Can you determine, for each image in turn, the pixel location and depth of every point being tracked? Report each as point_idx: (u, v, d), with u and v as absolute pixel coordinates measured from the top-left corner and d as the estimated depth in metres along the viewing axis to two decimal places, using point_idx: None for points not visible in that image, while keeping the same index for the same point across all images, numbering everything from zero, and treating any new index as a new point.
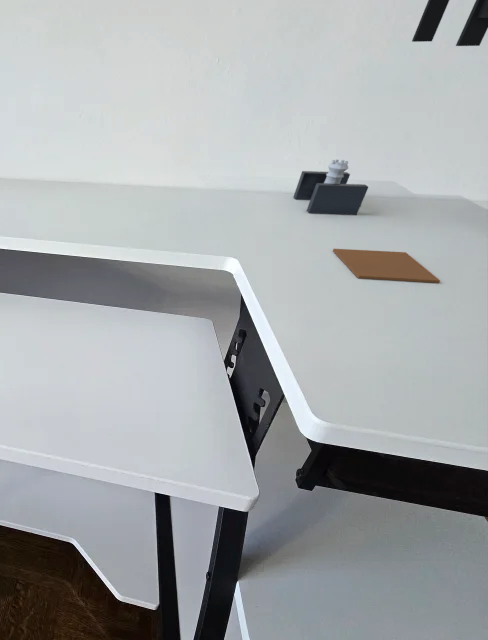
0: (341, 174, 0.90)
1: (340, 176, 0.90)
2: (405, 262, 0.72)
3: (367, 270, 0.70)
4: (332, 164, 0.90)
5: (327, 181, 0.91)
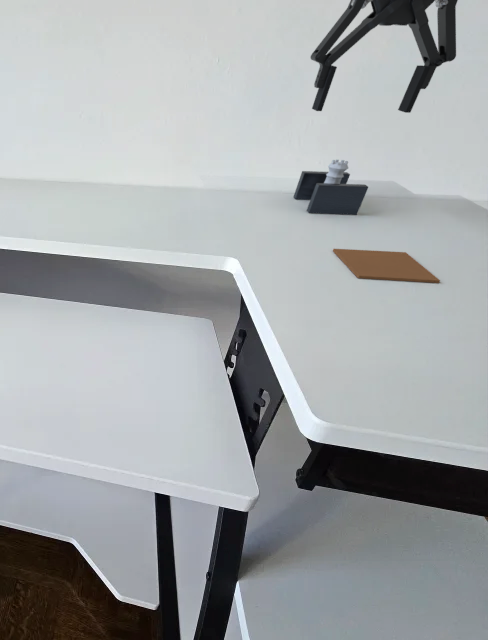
0: (341, 174, 0.90)
1: (340, 176, 0.90)
2: (405, 262, 0.72)
3: (367, 270, 0.70)
4: (332, 164, 0.90)
5: (327, 181, 0.91)
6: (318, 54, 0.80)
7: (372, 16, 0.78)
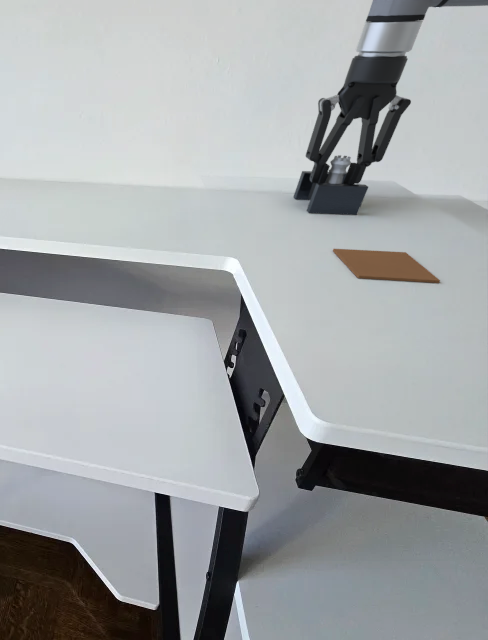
0: (344, 170, 0.89)
1: (343, 172, 0.89)
2: (405, 262, 0.72)
3: (367, 270, 0.70)
4: (334, 160, 0.89)
5: (330, 177, 0.91)
6: (311, 156, 0.89)
7: None
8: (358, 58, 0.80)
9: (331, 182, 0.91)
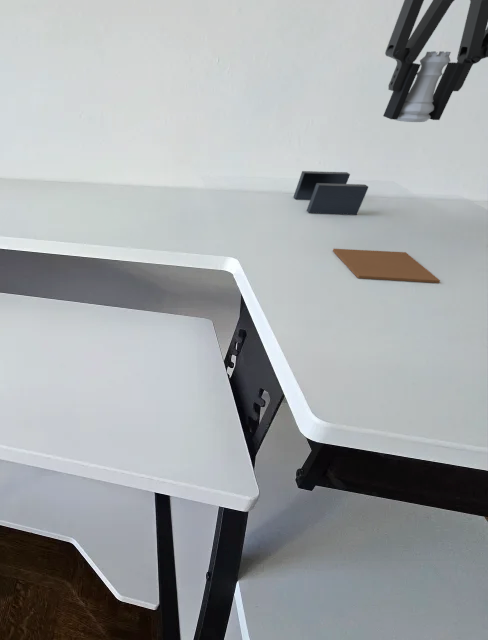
0: (439, 70, 0.65)
1: (438, 73, 0.65)
2: (405, 262, 0.72)
3: (367, 270, 0.70)
4: (427, 57, 0.65)
5: (418, 82, 0.66)
6: (395, 50, 0.64)
7: None
8: None
9: (420, 89, 0.66)
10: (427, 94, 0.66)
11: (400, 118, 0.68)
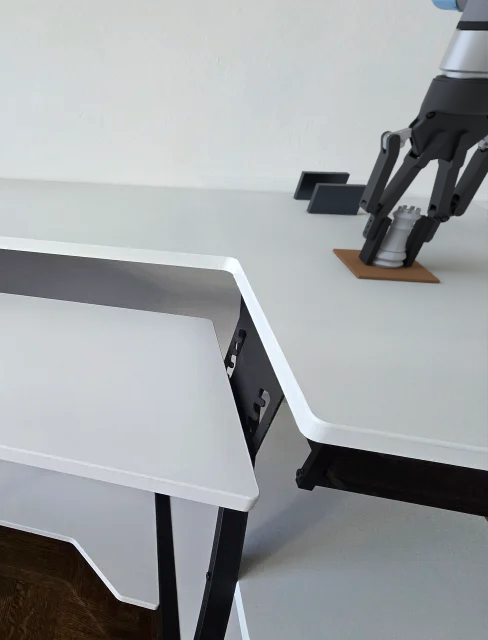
0: (411, 225, 0.67)
1: (409, 228, 0.67)
2: None
3: (367, 270, 0.70)
4: (399, 212, 0.67)
5: (391, 233, 0.69)
6: (368, 207, 0.67)
7: None
8: (443, 79, 0.58)
9: (392, 240, 0.69)
10: (400, 244, 0.68)
11: (374, 263, 0.71)
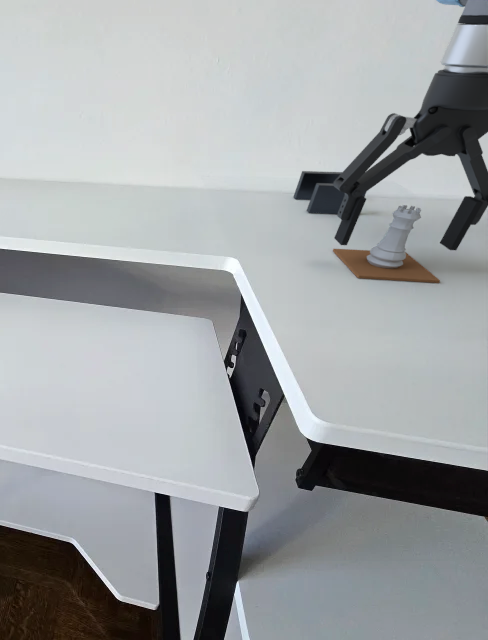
0: (411, 225, 0.67)
1: (409, 228, 0.67)
2: (405, 262, 0.72)
3: (367, 270, 0.70)
4: (399, 212, 0.67)
5: (391, 233, 0.69)
6: (343, 184, 0.66)
7: (410, 141, 0.63)
8: (445, 74, 0.57)
9: (392, 240, 0.69)
10: (399, 245, 0.68)
11: (374, 263, 0.71)
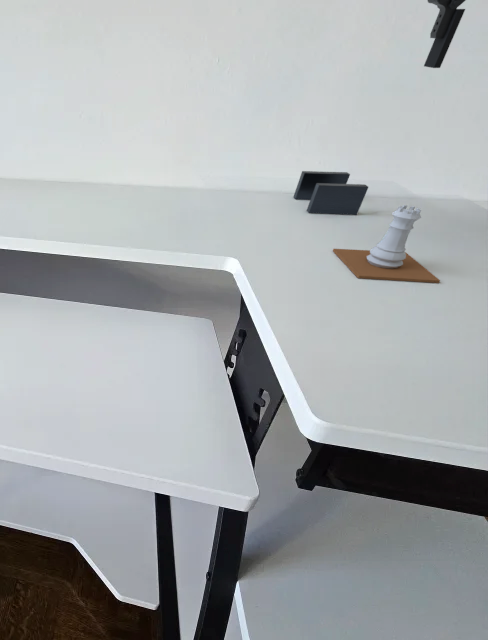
0: (411, 225, 0.67)
1: (409, 228, 0.67)
2: (405, 262, 0.72)
3: (367, 270, 0.70)
4: (399, 212, 0.67)
5: (391, 233, 0.69)
6: None
7: None
8: None
9: (392, 240, 0.69)
10: (399, 245, 0.68)
11: (374, 263, 0.71)
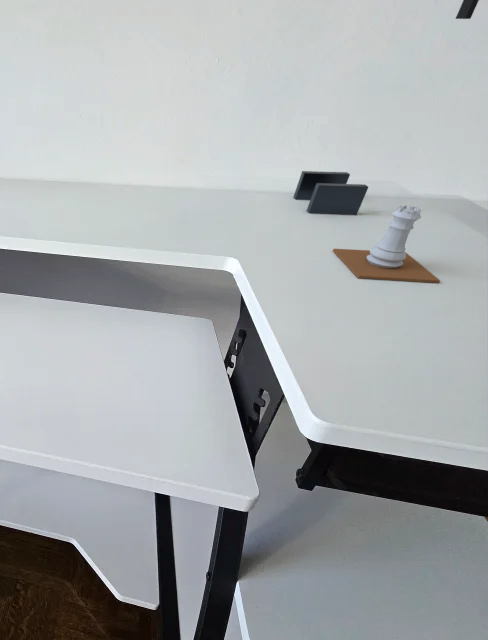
0: (411, 225, 0.67)
1: (409, 228, 0.67)
2: (405, 262, 0.72)
3: (367, 270, 0.70)
4: (399, 212, 0.67)
5: (391, 233, 0.69)
6: None
7: None
8: None
9: (392, 240, 0.69)
10: (399, 245, 0.68)
11: (374, 263, 0.71)
